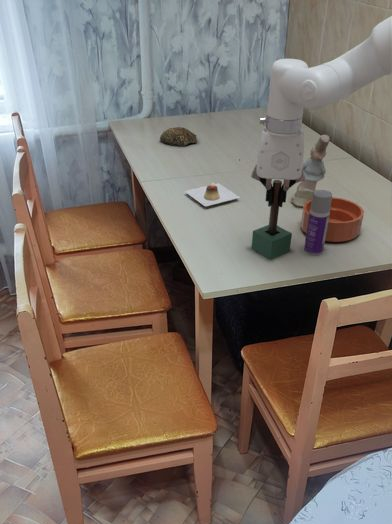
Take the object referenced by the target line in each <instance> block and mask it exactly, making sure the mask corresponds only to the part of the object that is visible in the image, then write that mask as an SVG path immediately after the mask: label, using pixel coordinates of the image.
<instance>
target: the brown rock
mask: <svg viewBox="0 0 392 524" xmlns="http://www.w3.org/2000/svg"><path fill="white" fill-rule="evenodd" d="M159 140H160V141H161V142H162V143H163V144H167V145H170V146H174V147H175V146H178V147H186V146H187V145H189V144H197V142H198V139H197V134H195V133H193V132H192V131H191V130H189V129H188V128H185V127H181V126H174V127H169V128H168V129H166V130H164V131H163V132H162V134H161V135H160V136H159Z"/></svg>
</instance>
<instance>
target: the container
mask: <svg viewBox="0 0 392 524" xmlns="http://www.w3.org/2000/svg"><path fill="white" fill-rule="evenodd" d="M315 190H316V191H314V192H313V197H312V203H311V208H310V214H309V221H308V227H307V234H306V233H305V241H304V247H303V250H304V252H305V253H306V254H308V255H311V256H318V255H319V256H320V255H321V254H323V252H324V248H325V242H326V241H325V237H326V231H327V226H328V220H329V215H330V208H331V201H332V197H333V193H332V192H331V191H329V190H326V189H315Z"/></svg>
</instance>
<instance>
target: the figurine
mask: <svg viewBox="0 0 392 524" xmlns="http://www.w3.org/2000/svg"><path fill="white" fill-rule="evenodd" d="M330 139H331V138H330V136H329V135H328V134H322V135H320V137H319V138H318V140H317V142H315V144H314V145H313V146H312V148H311V149H310V153H309V154H310V157H309V158H307V160H306V161H304V162H303V167H302V168H303V171H304V175H305V180H304V181H301V182H299V183H298V185H297V187H296V192H294V193H293V194H292V196H291V202H292V203H293V204H294V205H295V206H298V207H302V208H303V207H304V204H305V203H306V202H307V201H309V200H311V199H312V197H313V192H314V191H316V190H317V189H316V188H317V183H318V182H319V181H322V180H323V179H324V178H325V175H326V172H327V169H326V166H325V162H324V161H323V160H324V158H326V156H327V147H328V146H329V144H330Z"/></svg>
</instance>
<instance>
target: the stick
mask: <svg viewBox="0 0 392 524" xmlns="http://www.w3.org/2000/svg"><path fill="white" fill-rule="evenodd" d="M272 181H273V182H272V187H273V193H272V203H271V206H270V211H269V218H268V219H269V220H268V225H269V227H268V234H270V235H271V236H273V235H276V230H277V226H278V220H279V212H280V211H279V210H280V207H279V202H280V193H281V187H282V185H283V181H282V180H281V179H273V180H272Z"/></svg>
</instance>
